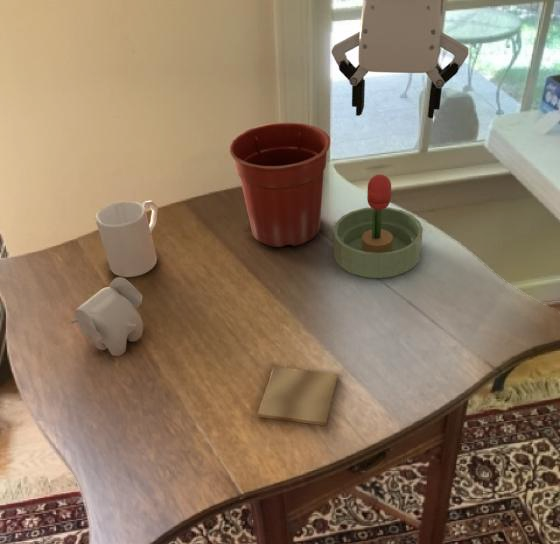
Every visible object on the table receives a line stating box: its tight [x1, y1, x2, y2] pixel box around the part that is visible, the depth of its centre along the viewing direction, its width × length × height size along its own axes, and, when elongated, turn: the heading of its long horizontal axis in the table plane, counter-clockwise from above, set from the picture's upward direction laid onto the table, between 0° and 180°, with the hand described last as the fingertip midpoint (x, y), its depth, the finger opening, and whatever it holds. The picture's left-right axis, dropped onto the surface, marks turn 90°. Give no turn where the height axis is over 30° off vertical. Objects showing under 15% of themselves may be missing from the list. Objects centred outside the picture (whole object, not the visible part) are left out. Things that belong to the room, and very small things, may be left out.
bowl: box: [332, 206, 424, 279], centre depth 108 cm, size 14×14×5 cm
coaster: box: [257, 366, 339, 426], centre depth 87 cm, size 9×9×1 cm
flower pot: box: [228, 122, 331, 248], centre depth 112 cm, size 16×16×16 cm
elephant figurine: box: [70, 276, 144, 357], centre depth 96 cm, size 10×12×9 cm
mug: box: [94, 200, 159, 278], centre depth 111 cm, size 8×12×10 cm, turn 146°
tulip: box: [362, 174, 393, 253], centre depth 104 cm, size 5×5×14 cm
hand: (395, 112), depth 90 cm, fingers open, 9 cm apart
